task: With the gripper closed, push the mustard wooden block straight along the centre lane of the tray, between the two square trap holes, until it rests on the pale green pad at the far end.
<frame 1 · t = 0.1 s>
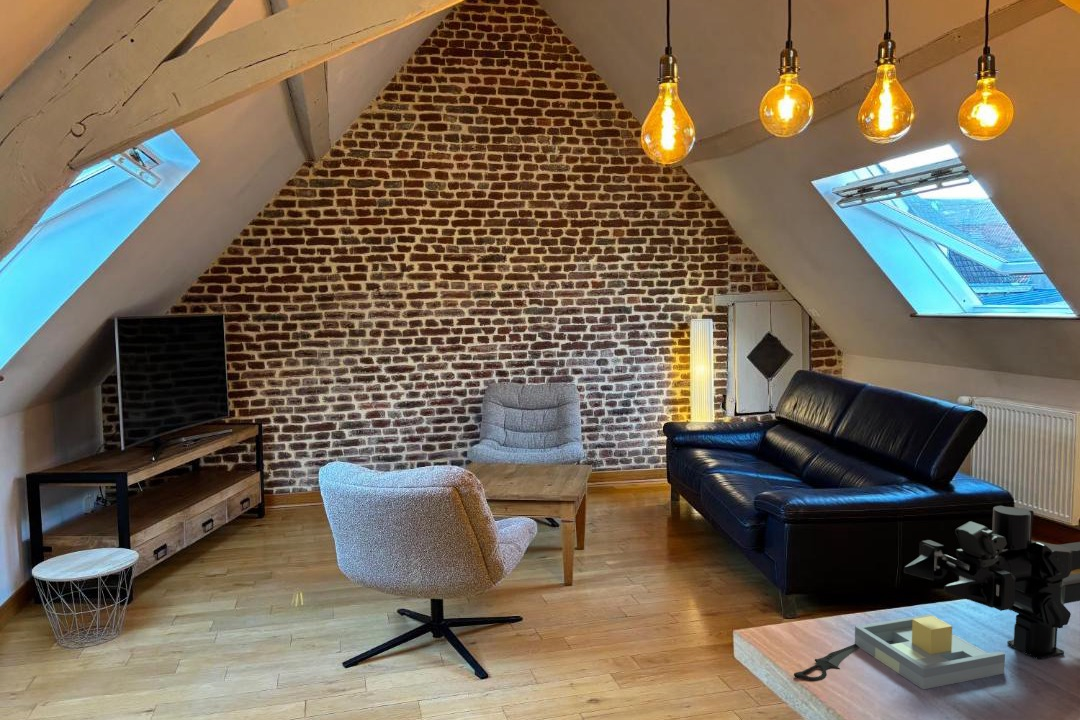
hand: (924, 579, 134), 17 cm above the table, tool horizontal, fingers open, 9 cm apart
tray: (926, 658, 140), on the table
block: (931, 646, 140), point 2 cm above the table, touching tray
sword: (841, 660, 141), on the table
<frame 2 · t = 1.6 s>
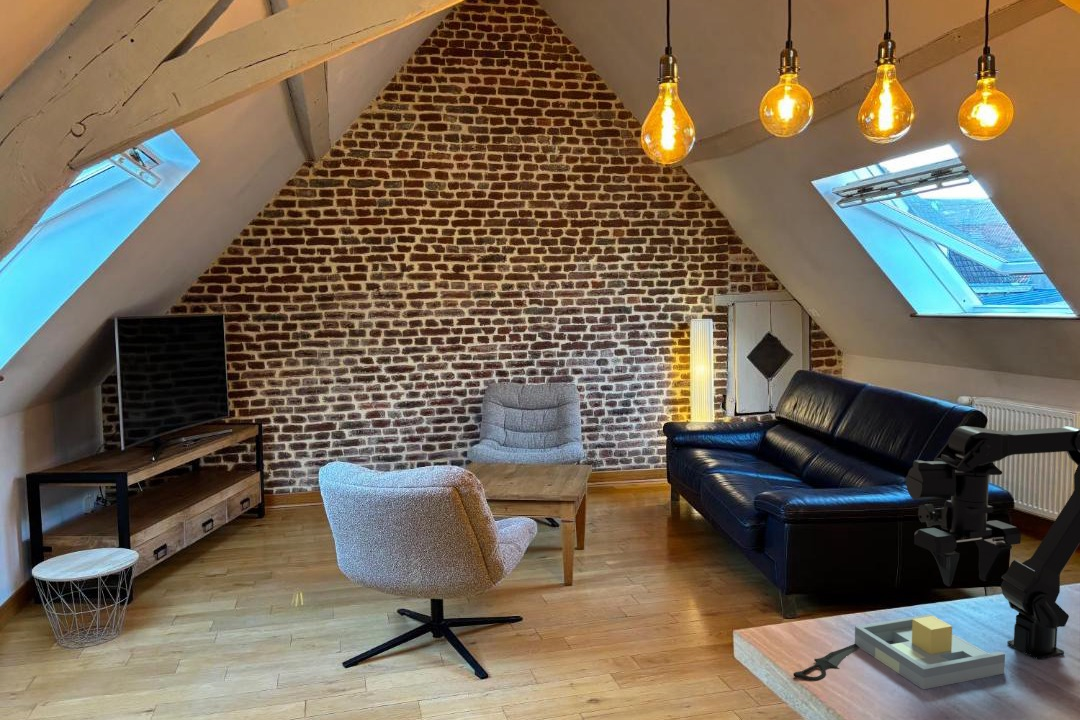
hand: (965, 582, 141), 13 cm above the table, tool pointing down, fingers open, 8 cm apart
nothing on the table moved.
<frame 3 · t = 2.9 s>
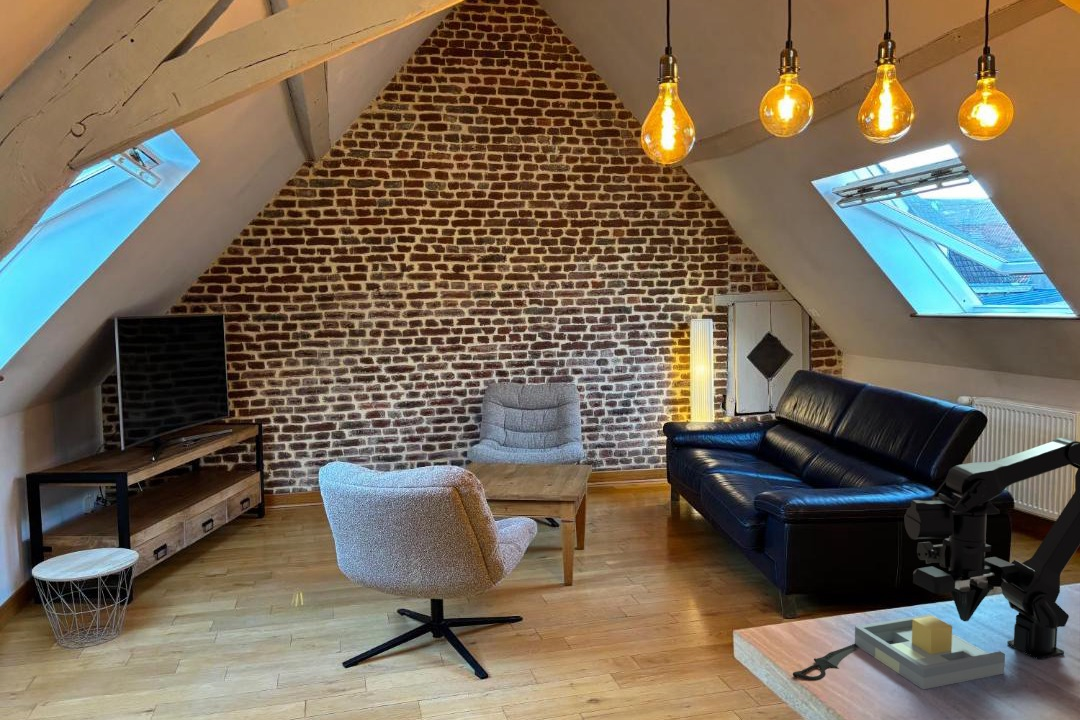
hand: (964, 620, 142), 6 cm above the table, tool pointing down, fingers closed
nothing on the table moved.
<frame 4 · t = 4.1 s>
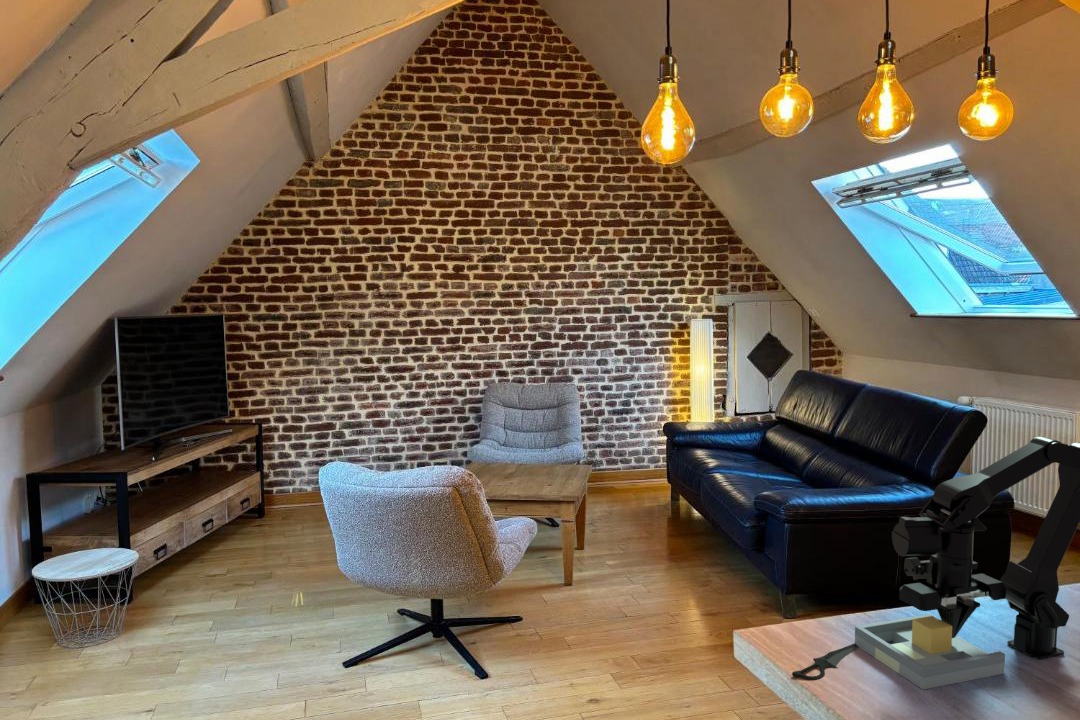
hand: (950, 637, 141), 3 cm above the table, tool pointing down, fingers closed
block: (931, 646, 140), point 2 cm above the table, touching tray, gripper
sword: (840, 659, 141), on the table, touching tray
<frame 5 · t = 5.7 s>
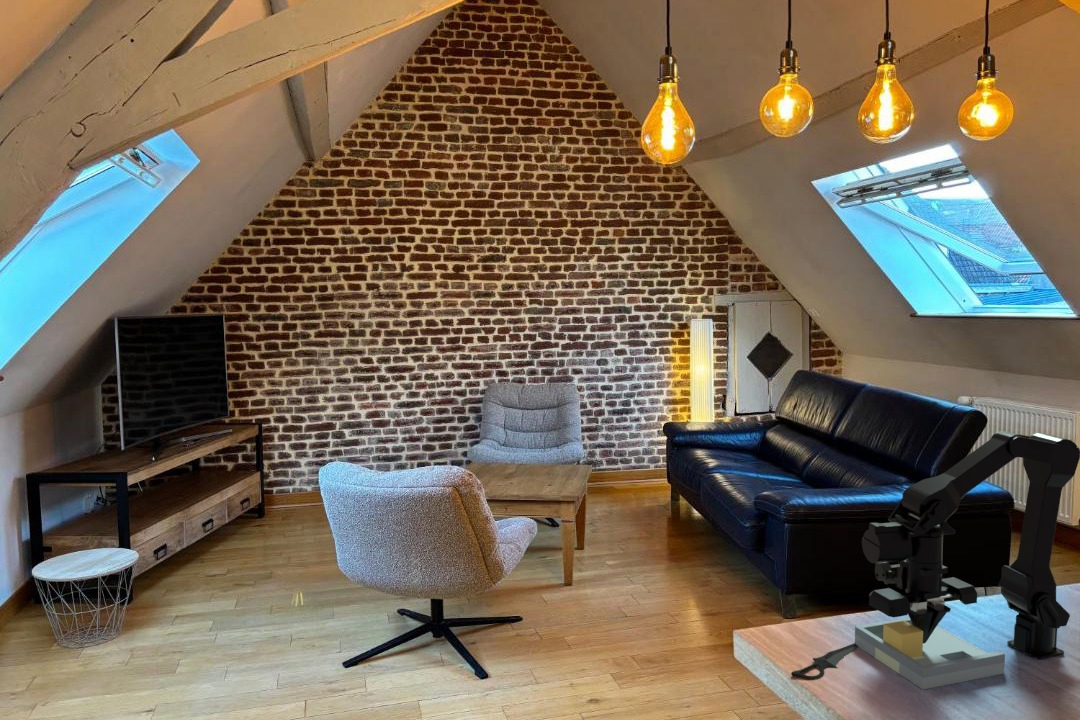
hand: (921, 642, 140), 3 cm above the table, tool pointing down, fingers closed
block: (902, 651, 139), point 2 cm above the table, touching tray, gripper
everything else where it was.
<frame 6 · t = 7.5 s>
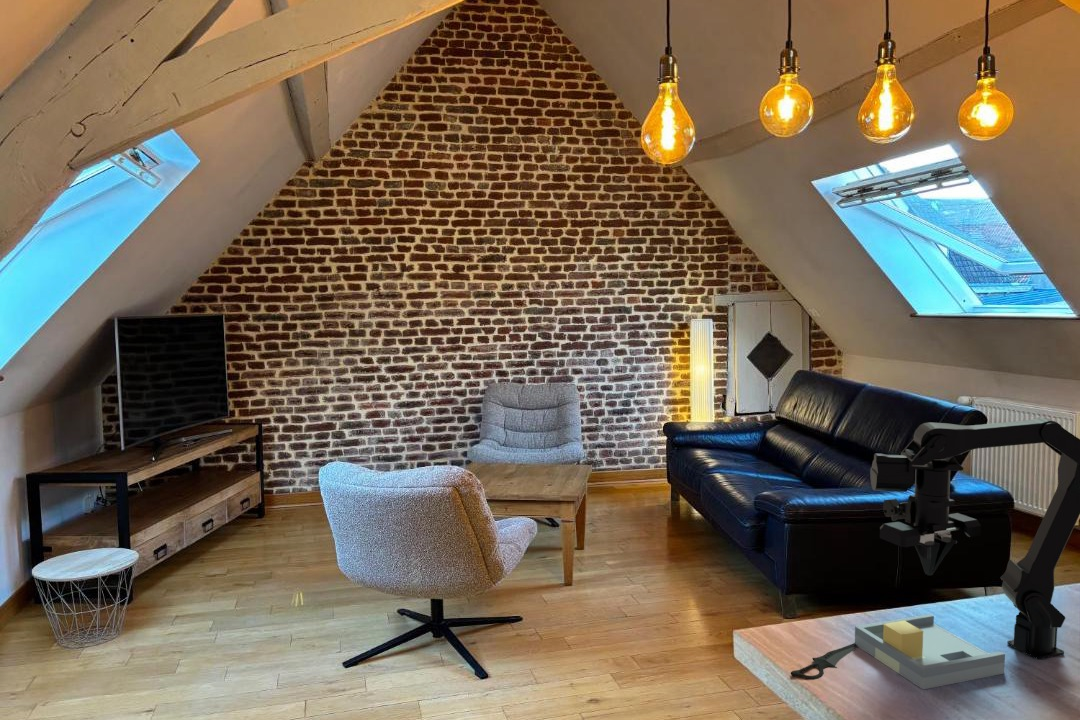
hand: (928, 574, 145), 13 cm above the table, tool pointing down, fingers closed
block: (902, 651, 139), point 2 cm above the table, touching tray
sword: (839, 659, 142), on the table
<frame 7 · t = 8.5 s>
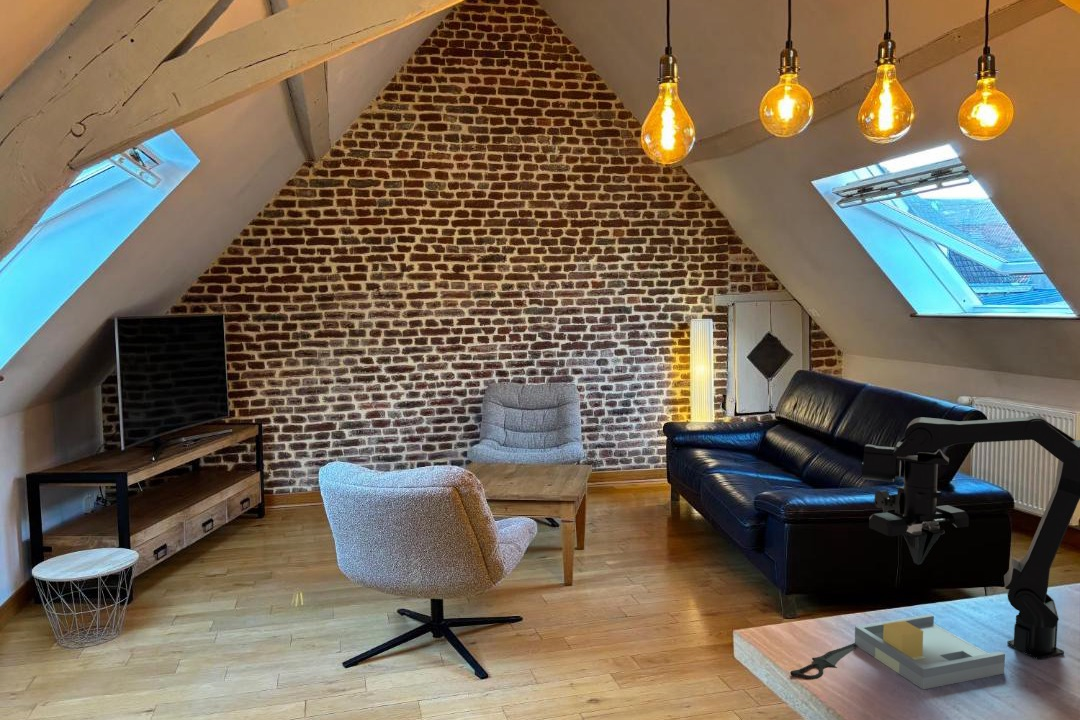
hand: (917, 563, 151), 13 cm above the table, tool pointing down, fingers closed
nothing on the table moved.
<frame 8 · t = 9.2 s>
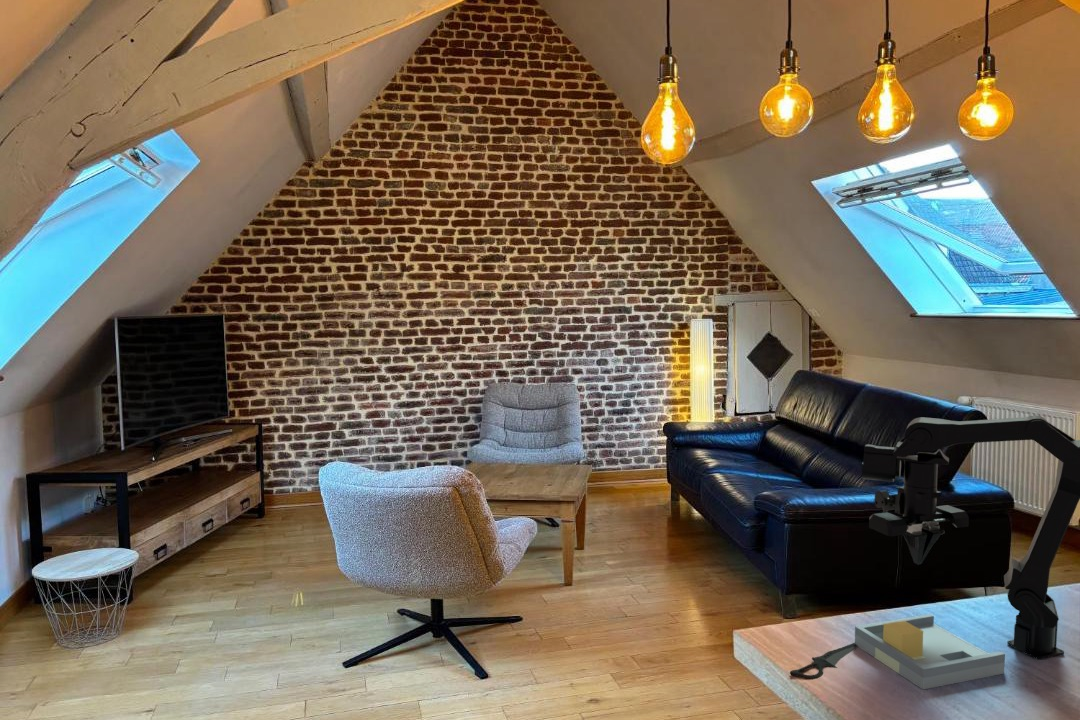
hand: (917, 563, 151), 13 cm above the table, tool pointing down, fingers closed
nothing on the table moved.
at the end: block 0.0 cm from the target spot on the tray, point 2.0 cm above the tray's base; block tilted 0° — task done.
